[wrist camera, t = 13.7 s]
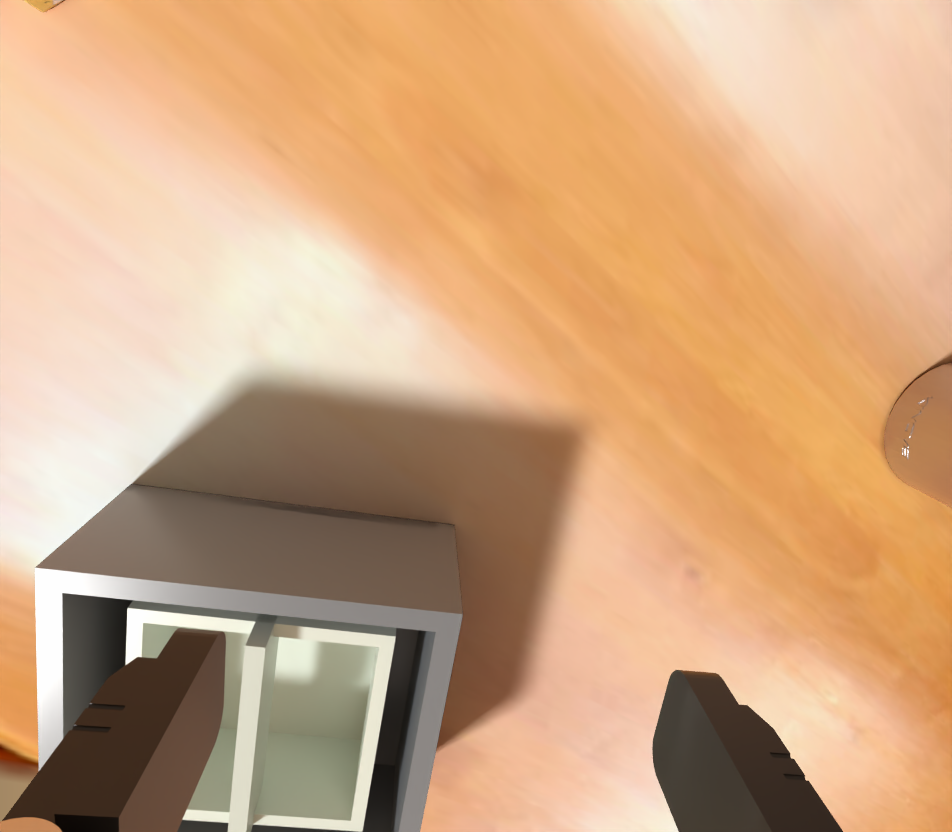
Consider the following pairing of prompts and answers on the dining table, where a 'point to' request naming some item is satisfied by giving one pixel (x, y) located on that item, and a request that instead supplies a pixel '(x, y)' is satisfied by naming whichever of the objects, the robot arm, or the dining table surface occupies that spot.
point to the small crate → (283, 714)
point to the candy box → (43, 4)
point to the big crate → (258, 610)
